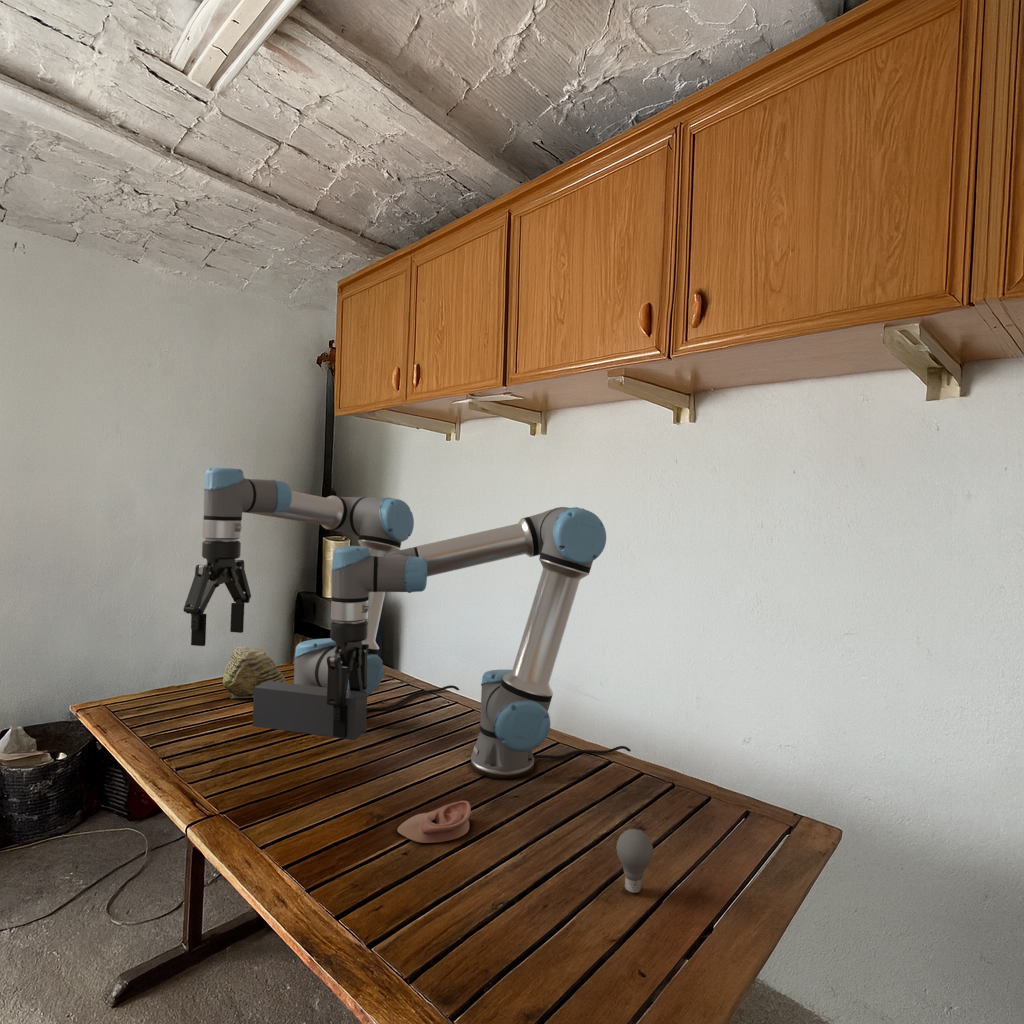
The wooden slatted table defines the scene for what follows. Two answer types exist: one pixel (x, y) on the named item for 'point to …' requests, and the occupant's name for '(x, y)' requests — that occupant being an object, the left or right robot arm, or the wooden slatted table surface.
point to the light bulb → (634, 857)
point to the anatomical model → (438, 824)
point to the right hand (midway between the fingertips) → (346, 731)
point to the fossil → (249, 672)
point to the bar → (305, 709)
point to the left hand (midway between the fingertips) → (218, 638)
